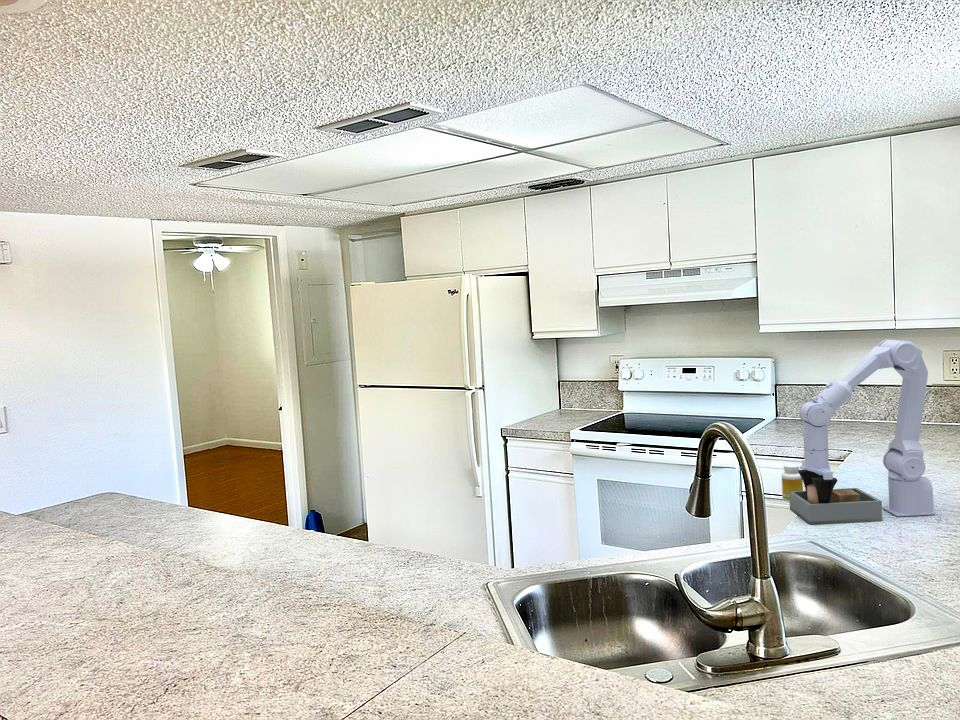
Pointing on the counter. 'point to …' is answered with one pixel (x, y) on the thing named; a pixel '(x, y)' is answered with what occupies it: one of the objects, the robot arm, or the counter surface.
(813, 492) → the terracotta cylinder
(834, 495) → the walnut cube
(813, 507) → the tote
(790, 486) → the supplement bottle
